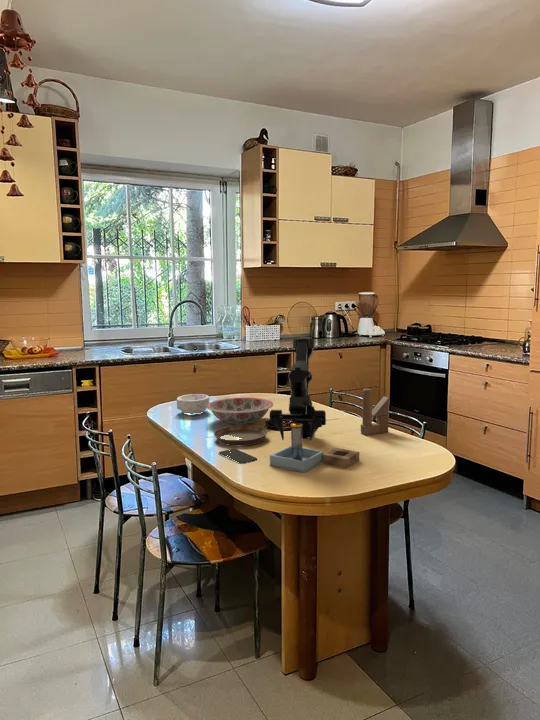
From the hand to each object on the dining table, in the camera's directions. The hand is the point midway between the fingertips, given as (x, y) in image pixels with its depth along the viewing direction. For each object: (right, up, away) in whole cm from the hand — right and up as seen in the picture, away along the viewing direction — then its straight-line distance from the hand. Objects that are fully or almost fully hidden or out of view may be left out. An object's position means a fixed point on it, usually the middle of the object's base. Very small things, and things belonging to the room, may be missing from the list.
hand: (296, 439), depth 174 cm
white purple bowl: (-45, +1, +76) cm, 88 cm away
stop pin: (0, -7, +2) cm, 8 cm away
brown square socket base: (+15, -8, +3) cm, 17 cm away
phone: (-20, -8, +11) cm, 24 cm away
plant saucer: (-20, -5, +32) cm, 38 cm away
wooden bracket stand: (+33, -3, +37) cm, 50 cm away
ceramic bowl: (-22, -1, +58) cm, 62 cm away
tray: (0, -8, +3) cm, 9 cm away
